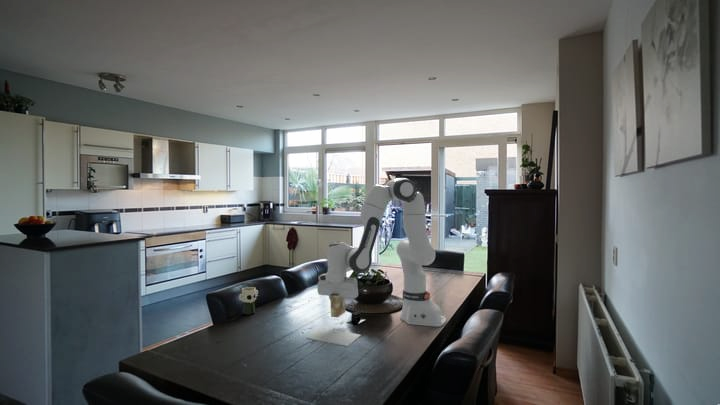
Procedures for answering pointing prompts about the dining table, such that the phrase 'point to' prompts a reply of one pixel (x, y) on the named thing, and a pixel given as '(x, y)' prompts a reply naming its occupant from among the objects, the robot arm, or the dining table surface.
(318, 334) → the felt mat
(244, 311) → the character mug
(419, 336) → the dining table surface
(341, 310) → the oak slab
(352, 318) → the black box
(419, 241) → the robot arm
